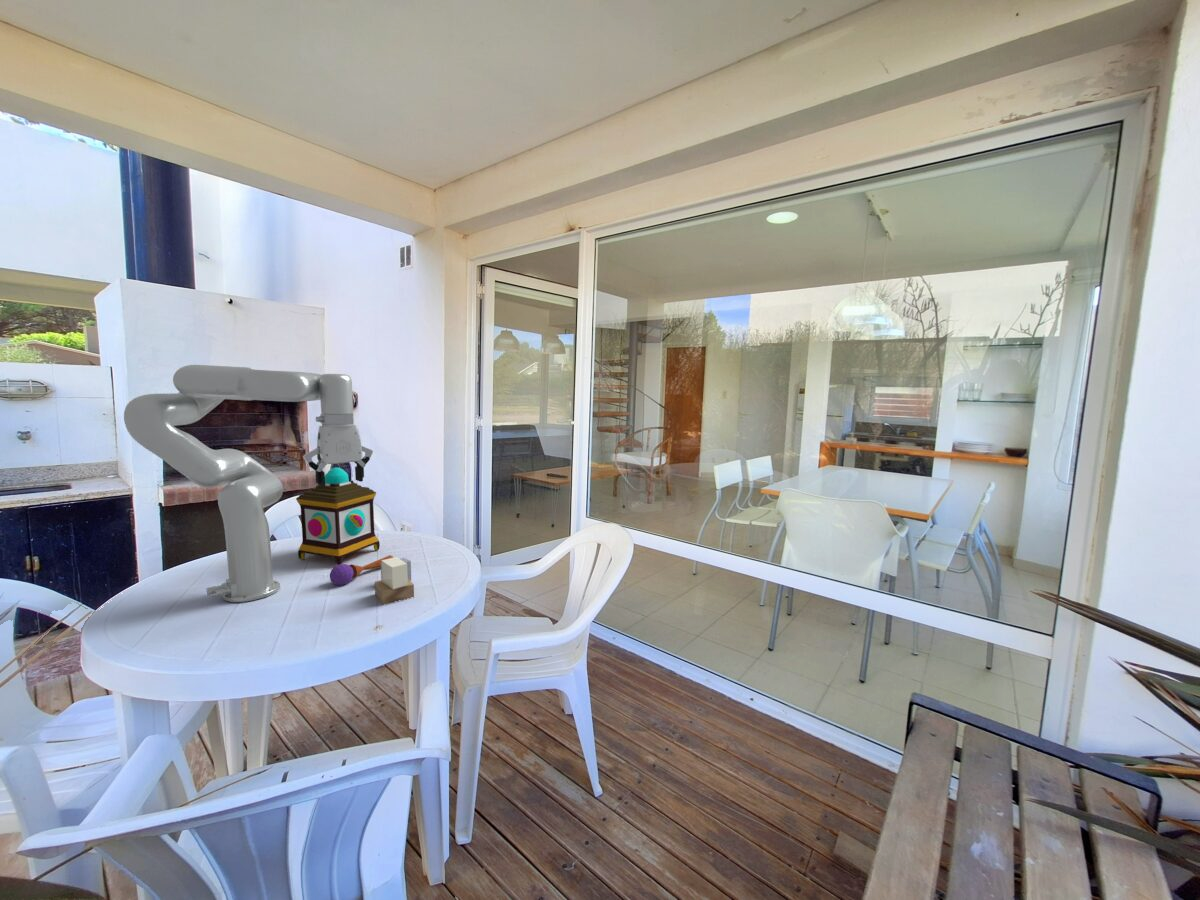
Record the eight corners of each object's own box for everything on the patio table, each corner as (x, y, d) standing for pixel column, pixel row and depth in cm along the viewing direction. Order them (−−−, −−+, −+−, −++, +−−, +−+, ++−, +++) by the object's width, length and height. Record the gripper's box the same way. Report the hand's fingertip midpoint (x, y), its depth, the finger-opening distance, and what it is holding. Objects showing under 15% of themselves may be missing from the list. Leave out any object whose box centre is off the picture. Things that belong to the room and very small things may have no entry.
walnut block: (382, 606, 123) (382, 591, 123) (375, 595, 130) (374, 581, 129) (414, 598, 128) (413, 584, 128) (405, 588, 134) (404, 575, 134)
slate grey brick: (387, 587, 134) (387, 567, 133) (381, 583, 137) (380, 563, 136) (411, 580, 140) (410, 560, 139) (404, 576, 142) (404, 557, 141)
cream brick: (407, 585, 127) (407, 563, 127) (392, 589, 124) (392, 567, 124) (396, 577, 132) (396, 556, 131) (382, 581, 129) (381, 560, 128)
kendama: (398, 554, 150) (340, 571, 132) (395, 572, 150) (337, 591, 132) (385, 548, 152) (326, 563, 134) (382, 565, 153) (323, 583, 135)
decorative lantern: (342, 542, 172) (338, 461, 168) (386, 549, 165) (383, 465, 162) (291, 561, 153) (285, 469, 149) (338, 569, 147) (333, 474, 143)
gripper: (306, 422, 117) (310, 490, 120) (376, 420, 130) (379, 480, 133) (296, 420, 122) (300, 485, 124) (364, 418, 135) (367, 477, 137)
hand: (340, 483), depth 128 cm, fingers open, 9 cm apart
